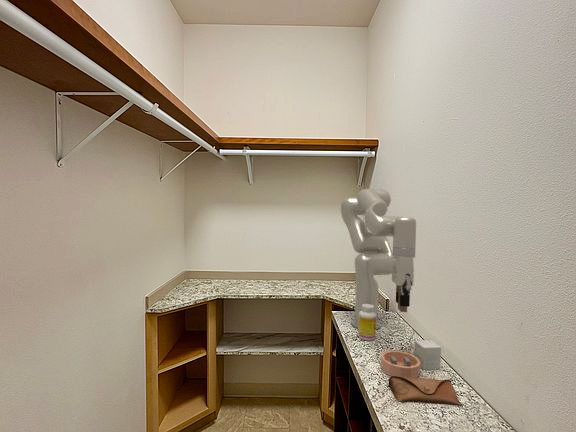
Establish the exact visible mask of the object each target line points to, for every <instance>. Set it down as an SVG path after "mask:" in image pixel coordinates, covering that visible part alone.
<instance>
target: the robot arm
mask: <svg viewBox="0 0 576 432" xmlns="http://www.w3.org/2000/svg"><path fill="white" fill-rule="evenodd" d="M391 200H392V199H391V195H390V193H389V192H388V191H387V190H386V189H383V188H382V189H381V188H379V189H378V188H364V189H362V190H360V191H358V193H357V194H356V196H353V197H350V196H349V197H346V198H344V199H343V200H342V201H341V203H340V214H341V218H342V220H343V222H344V224H345V226H346V228H347V230H348V234H349V236H350V240H351V245H352V248H353V249H354V251H355V252H356V253H357V254H358V255H356V257H355V258H354V270H355V300H354V301H355V302H354V303H355V304H354V318H352V319H350V325H351V326H352V327H354V328H356V329H358V327H359V312H360V311H362V305H363V304H371V305H373V306H374V310H373V312H375V313H376V331H377V330H379V329H380V328H381V327H382V326H381V325H382V324H381V322H379V321H378V305H379V284H378V281H377V280H376V279H375V277H374V276H389V275H391V281H392V283H394V284H395V303H396V304H398V286H401V294H400V306H404V307H407V308H409V307H410V305H411V304H410V300H411V290H412V287H413V286H414V281H415V280H414V276H415V275H414V274H415V273H414V272H415V270H414V265H415V264H414V258H416V240H417V237H416V235H417V221H416V219H415V218H413V217H408V216H407V217H402V216H392V215H391V216H390V215H388V216H387V215H386V214H387V213H388V212H387V211H388V207H390V204H391ZM359 216H364V221H363V219H361V217H359ZM388 237H392V248H391V245H390V243H389V240H388ZM403 284H406V286H403ZM403 287H405V288H404V290H403Z"/></svg>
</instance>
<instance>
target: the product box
mask: <svg viewBox="0 0 576 432" xmlns="http://www.w3.org/2000/svg"><path fill="white" fill-rule="evenodd" d="M413 343H414V344H413V345H414V346H413V347H414V348H413V356H415V357H417V358H418V359H419V361H420V362H421V368H420V369H421V370H422V371H429V370H431V371H432V370H441V358H442V357H441V355H442V354H441V353H442V347H441V346H440V345H438V344H437V343H436V342H434V341H433V340H431V339H419V340H414V342H413Z"/></svg>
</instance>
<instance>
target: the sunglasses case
mask: <svg viewBox="0 0 576 432" xmlns="http://www.w3.org/2000/svg"><path fill="white" fill-rule="evenodd" d="M387 387H388V388H389V389H390V392H391V393H392V396H393V397H394V398H395V400H396V402H397V403H422V404H423V403H424V404H434V405H435V404H436V405H438V404H439V405H448V404H449V405H448V406H456V405H458V406H457V407H462V406H463V404H462V403H461V402H460V400H459V397H458V396H457V393H456V391H455V388H454V386H453V384H452V379H434V378H421V377H417V378H406V377H399V376H389V378H388V386H387Z"/></svg>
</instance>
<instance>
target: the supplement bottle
mask: <svg viewBox="0 0 576 432" xmlns="http://www.w3.org/2000/svg"><path fill="white" fill-rule="evenodd" d="M373 310H374V306H373V305H371V304H363V305H362V311H360V312H359V327H358V328H357V330H358V333H357V336H358V338H359V339H360V340H363V341H374V340H375V339H376V332H377V330H376V313H375V312H373Z"/></svg>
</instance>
